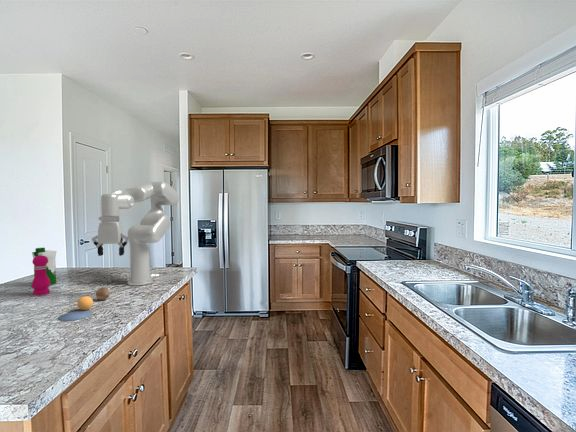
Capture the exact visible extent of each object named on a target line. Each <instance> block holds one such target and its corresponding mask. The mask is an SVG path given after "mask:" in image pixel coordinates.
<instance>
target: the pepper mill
mask: <svg viewBox="0 0 576 432" xmlns="http://www.w3.org/2000/svg"><path fill="white" fill-rule="evenodd" d="M47 263H48V258H47V257H46V256H42V253H41V252H40V253H38V256H36V257H35V258H34V259H32V265H33V270H34V269H35V277H33V279H32V282H31V288H32V289H33V291H32V294H33V295H32V296H43V295H48V294H49V293H50V288H49V287H50V286H51V285H50V280H49V278H48V276H47V274H46V268H47V265H46V264H47ZM34 265H35V266H34Z"/></svg>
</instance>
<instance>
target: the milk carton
mask: <svg viewBox="0 0 576 432" xmlns="http://www.w3.org/2000/svg"><path fill="white" fill-rule="evenodd" d="M40 252H41V253H42V256H46V257H47V258H48V263H47V264H46V265H47V268H46V274H47V276H48V278H49V280H50V286H53V285H56V284H57V274H56V273H57V272H56V271H57V269H56V257H57V250H49V249H48V250H46V248H45V247H36V248H35V251H31V255H32V258H33V259H34V258H35V257H36V256H38V253H40ZM33 259H32V260H33ZM34 266H35V265H34V264H33V267H34ZM33 272H34V274H33V275H34V277H35V269H34V268H33ZM34 277H33V278H34Z"/></svg>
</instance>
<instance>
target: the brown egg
mask: <svg viewBox="0 0 576 432" xmlns="http://www.w3.org/2000/svg"><path fill="white" fill-rule="evenodd" d="M110 293H111V292H110V290H109V288H107V287H99V288H98V289H97V290H96V291H95V297H96V299H97V300H100V301H103V300H106V299H108V298H109V297H110V295H111V294H110Z"/></svg>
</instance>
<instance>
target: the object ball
mask: <svg viewBox="0 0 576 432" xmlns="http://www.w3.org/2000/svg"><path fill="white" fill-rule="evenodd" d="M93 304H94V300H93V298H92V297H90V296H88V295H86V296H85V295H84V296H82V297H80V298H79V299H78V301H77V303H76V305H77V308H78V309H79V310H80V311H89V310H90V309H91V308H92V307H93Z"/></svg>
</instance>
